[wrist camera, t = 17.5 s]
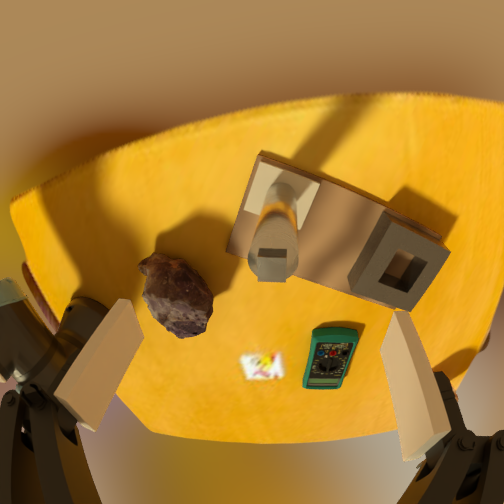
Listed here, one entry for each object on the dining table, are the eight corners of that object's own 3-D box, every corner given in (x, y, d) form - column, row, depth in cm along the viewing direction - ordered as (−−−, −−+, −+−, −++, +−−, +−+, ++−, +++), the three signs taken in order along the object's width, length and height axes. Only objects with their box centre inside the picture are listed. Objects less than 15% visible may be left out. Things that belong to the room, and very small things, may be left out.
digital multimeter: (358, 325, 40) (361, 338, 38) (339, 379, 47) (340, 391, 45) (312, 323, 41) (313, 337, 39) (302, 378, 48) (301, 391, 46)
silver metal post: (265, 182, 30) (243, 245, 17) (296, 182, 30) (300, 246, 16) (266, 210, 32) (246, 290, 19) (295, 211, 31) (297, 292, 18)
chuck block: (346, 276, 35) (351, 291, 32) (382, 210, 30) (391, 221, 27) (403, 297, 36) (410, 312, 33) (440, 239, 31) (450, 252, 28)
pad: (244, 207, 33) (243, 209, 32) (260, 160, 30) (259, 161, 29) (299, 228, 33) (300, 230, 32) (319, 182, 30) (320, 184, 29)
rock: (180, 306, 44) (235, 294, 41) (166, 349, 37) (226, 342, 34) (139, 252, 38) (195, 232, 35) (114, 295, 31) (175, 278, 28)
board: (226, 249, 36) (225, 251, 36) (258, 154, 30) (257, 155, 29) (393, 307, 37) (394, 309, 37) (439, 234, 31) (441, 236, 30)
